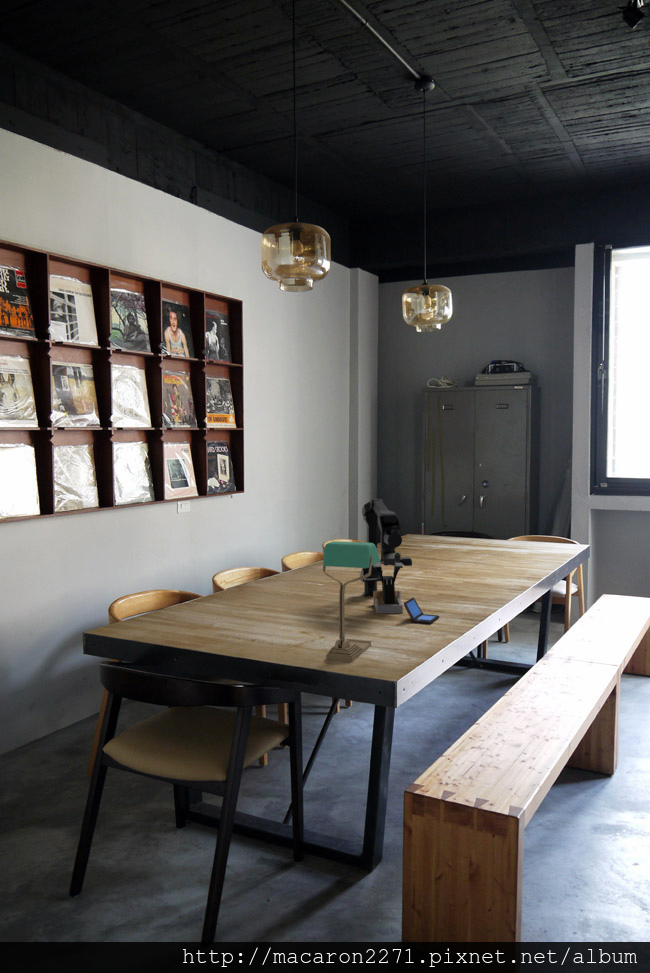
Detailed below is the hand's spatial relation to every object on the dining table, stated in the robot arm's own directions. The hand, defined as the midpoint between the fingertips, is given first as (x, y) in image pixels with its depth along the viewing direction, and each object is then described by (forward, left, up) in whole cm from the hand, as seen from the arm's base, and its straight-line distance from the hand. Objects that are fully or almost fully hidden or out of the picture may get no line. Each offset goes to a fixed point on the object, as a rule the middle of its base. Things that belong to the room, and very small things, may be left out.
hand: (388, 582), depth 303 cm
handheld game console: (+19, +11, -11) cm, 25 cm away
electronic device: (0, 0, -8) cm, 8 cm away
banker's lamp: (+62, -18, -11) cm, 66 cm away
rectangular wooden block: (-7, 0, -10) cm, 13 cm away
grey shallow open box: (0, 0, -11) cm, 11 cm away
